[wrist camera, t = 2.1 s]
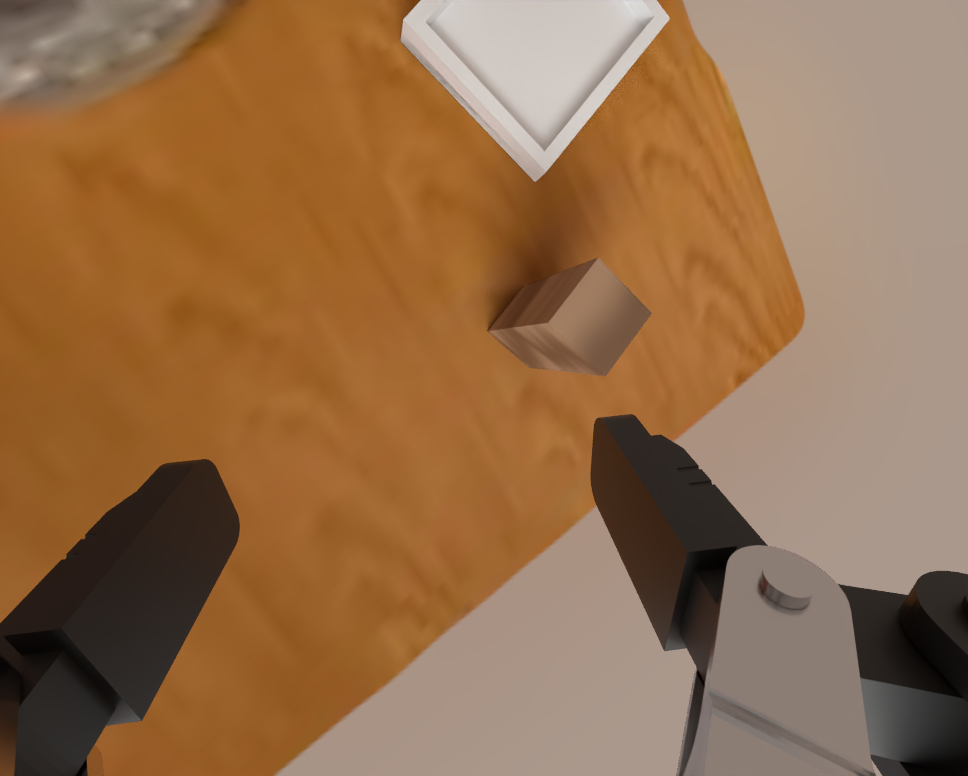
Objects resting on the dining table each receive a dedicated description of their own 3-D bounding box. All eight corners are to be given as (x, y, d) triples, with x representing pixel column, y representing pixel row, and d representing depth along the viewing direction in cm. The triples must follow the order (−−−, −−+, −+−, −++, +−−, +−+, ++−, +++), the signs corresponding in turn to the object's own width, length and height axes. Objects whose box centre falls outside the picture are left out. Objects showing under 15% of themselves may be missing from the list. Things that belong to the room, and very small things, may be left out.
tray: (400, 41, 29) (403, 19, 27) (539, -114, 31) (551, -144, 29) (535, 182, 33) (546, 171, 31) (652, 36, 34) (670, 18, 32)
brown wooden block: (487, 331, 33) (548, 322, 22) (522, 286, 33) (598, 257, 22) (528, 367, 34) (605, 376, 23) (562, 324, 34) (651, 313, 24)
